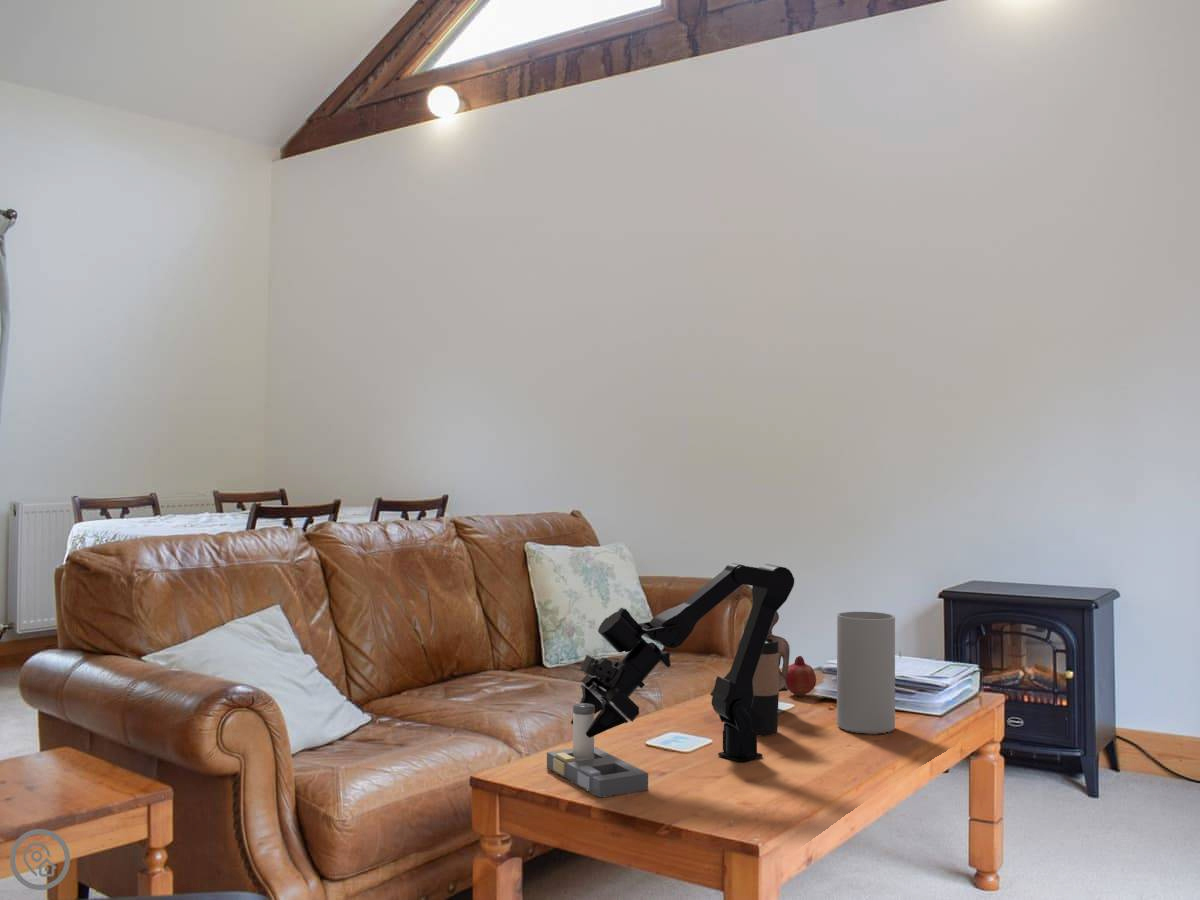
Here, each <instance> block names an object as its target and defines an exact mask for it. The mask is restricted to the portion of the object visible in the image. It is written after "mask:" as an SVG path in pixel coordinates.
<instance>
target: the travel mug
mask: <svg viewBox="0 0 1200 900" xmlns="http://www.w3.org/2000/svg"><path fill="white" fill-rule="evenodd" d="M779 668H780V666H779V662H778V641H777V642H774V641H773V640H772V639H770V638H767V639H766V642H765V645H764V648H763V651H762V654H761V657H760V660H759V662H758V665H757V668H756V671H755V674H754V677H753V691H754V698H753V703H752V709H753V710H754V711H755V712H756V713H757V714H758V715H759V716H760V717H761V718H762V719H763V722H762V725H761V728H760V730H757V735H771V736H773V735H772V734H775V735H777V734H778V727H779V726H778V723H779V700H780V699H779V694H780V692H779ZM776 733H777V734H776Z"/></svg>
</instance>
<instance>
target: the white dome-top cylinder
mask: <svg viewBox="0 0 1200 900" xmlns="http://www.w3.org/2000/svg"><path fill="white" fill-rule="evenodd" d="M594 712H595V706H594V705H593V704H588V703H580V702H579V703H575V704H573V705H572V713H573V714H572V719H573V725H572V729H573V730H572V749H573V757H574V758H575V761H583V760H589V759H594V747H595V736H593V737H591V738H589V737H588V736H587V735H586V732H587V730H588V729H589V727H590V726H591V724H592V723H593V721H594V720H595V714H594Z"/></svg>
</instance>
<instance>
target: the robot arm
mask: <svg viewBox="0 0 1200 900" xmlns="http://www.w3.org/2000/svg"><path fill="white" fill-rule="evenodd" d="M742 585H745V586H746V585H747V586H752V588H751V594H752V606H751V610H750V612H749V615H748V619H747V620H746V624H745V627H744V630H743V633H742V635H741V636H742V638H741V641H740V644H739V647H738V646H737V650H736V653H735V656H734V659H733V662H732V665H731V667H730V670H729V672H727V674H726V675H725V676H724V677H721V676H719V675H718V676H716V679H715V683H714V686H713V690H712V691H711V692H710V694H709V695H710V696H711V706H712V708H713V710H714V712H715V713H716V714H718V716H719V719H720V722H722V723H723V730H722V751H721V752H718V753H717V756H719V757H723V758H725V759H729V760H733V761H736V762H738V763H743V762H746V761H751V760H755V759H759V758H760V759H761V758H763V754H762V753H759V752H758V736H757V730H760V728H761V725H762V722H763V719H762V718H761V717H760V716H759V715H758V714H757V713H756V712H755V711H754V710H753V709H752V703H753V698H754V691H753V677H754V674H755V671H756V668H757V665H758V662H759V660H760V657H761V654H762V651H763V648H764V645H765V642H766V639H767V636H768V633H769V630H770V627H771V624H772V621H773V618H774V615H775V613H776V611H777V612H778V610H779V609H780V608H782V606H783V605H784V604H785V603H786V602H787V600H788V598H789V597H790V595H791V592H792V590H793V589H794V586H795V577H794V575H793V573H792V572H791V570H790V569H789V568H788V567H784V566H780V565H779V566H778V565H775V564H774V565H773V564H768V563H767V564H763V565H761V566H759V567H754V566H750V565H749V566H748V565H745V564H744V565H743V564H740V563H739V564H738V563H735V562H732V563H729V564H727V565H726V566H725V568H724V569H723V570H721V572H719V573H718V574H717V575H716V576H714V577H713V578H712V579H711V580H710V581H708V582H707V583H706V584H704V585H703V586H702V587H701V588H700V589H699V590H697V591H696V592H695V593H693V594H692V595H691V596H690V597H689V598H687V599H686V600H685V601H683V602H682V603H680V604H679V605H675V606H673V607H671V608H668V609H666V610H664V611H663V612H661V613H659V614H657V615H655V616H654V617H653V618H652V619H651V620H650V621H644V622H640V623H638V622H637V620H636V619H634V618H633V616H632V615H631V613H630V611H628V609H626V608H624V607H620V608H619V609H618V610H617V611H616V612H613V613H612V614H610V615H609V616H607V617H605V618H604V620H603V621H602V622H601V623H600V625H599V627H598V629H597V632H598V633H599V635H600V636H601V637H602V638H603V639H604V640H606V642H608V644H609V645H610V646H611V647H612V648H613V649H615V651H616V652H617V653H623V652H625V653H626V655H624V657H623V658H622V659H621V660H620V661H619V660H614V661H612V660H611V659H608V658H605V657H602V658H600V659H597V658H595V657H594V656H591V655H588V654H586V655H585V657H584V660H583V662H582V664H581V667H580V671H582V672H584V673H585V674H586V675H585V676H584V677H583V678H582V679H581V680H580V682H581V685H580V689H581V691H582V697H581V699H580V702H579V703H588V704H593V705H594V706H595V712H594V715H596V714H597V713H598V714H597V716H596V717H594V721H593V723H592V724H591V726H590V727H589V729H588V730H587V732H586V735H587V736H588V737H589V738H591V737H593V736H594V737H595V736H597V735H599V734H602V733H604V732H606V731H608V730H610V729H613V728H615V727H618V726H620V725H623V724H627V723H629V722H632V723H633V722H634V720H636V718H638V716H639V714H640V707H639V706H638V705H637V704H636V703H635V702H634V701H633V700H632V699H631V698H630V697H631V696H632V695H633V694H634V692H635V691H636V690H637V688H640V689H643V687H644V686H645V685H646V684H645V683H644V681H645V679H646V678H647V677H648V676H649V675H650V673H651V672H653V670H654V669H655V668H656V667H657V666H658V665H659V664H661V665H663V666H664V667H667V668H671V660H670V657H671V653H670V652H668V651H666V650H665V651H663V650H661V648H659V646H658V645H661V646H663V647H665V648H668V649H669V648H670V649H676V648H678V647H679V646H681V645H682V644H683V643H684V642H685V641H686V639H687V638H688V637H689V636H690V635H691V634H692V632H693V631H694V629H695V626H696V624H697V623H698V622H699V621H700V620H701V619H702V618H704V617H705V615H707V614H708V613H709V612H711V611H712V610H713V609H714V608H715V607H716V606H718V605H719V604H721V602H722V601H724V600H725V599H726V598H727V597H729V596H730V595H731V594H732V593H734V592H735V591H736V590H737V589H738V588H740V587H741V586H742ZM643 637H644V638H647V639H649V640H652V641H653V642H647V641H646V640H645V639H644V638H643ZM654 642H655V643H657V644H658V645H657V644H655V643H654ZM628 720H629V721H628ZM570 724H571V725H572V726H573V718H571V722H570Z"/></svg>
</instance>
